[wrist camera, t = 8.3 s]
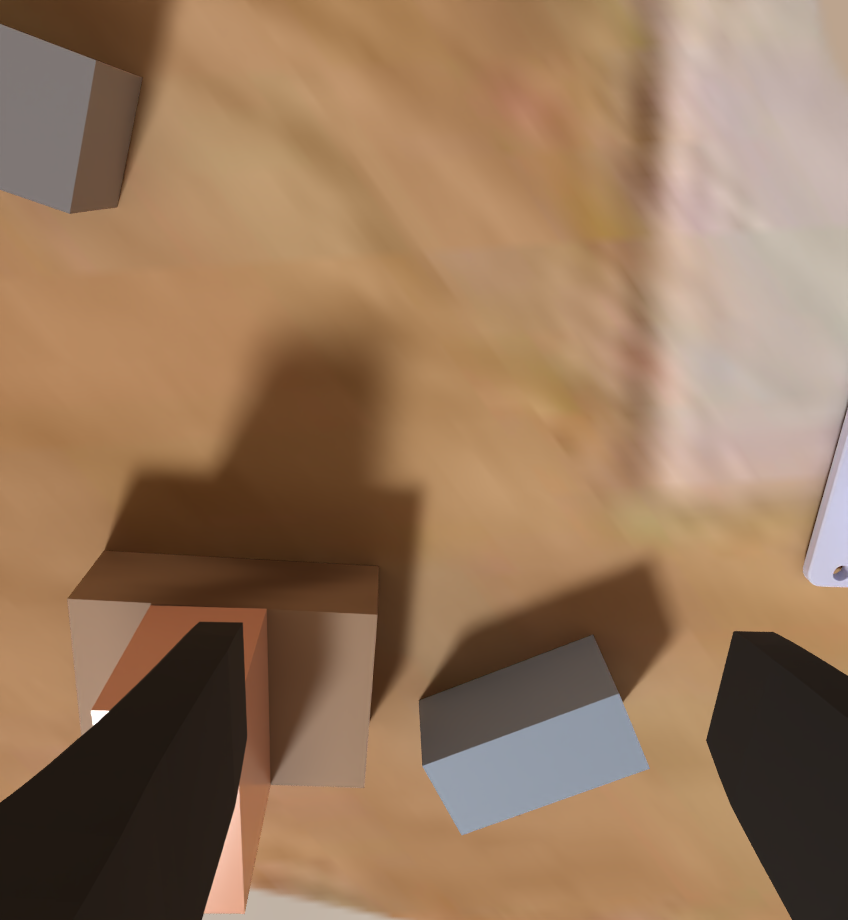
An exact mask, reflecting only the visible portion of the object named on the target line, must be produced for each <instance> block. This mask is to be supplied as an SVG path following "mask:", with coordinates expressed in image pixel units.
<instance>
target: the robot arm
mask: <svg viewBox="0 0 848 920" xmlns="http://www.w3.org/2000/svg"><path fill="white" fill-rule="evenodd" d="M839 566H843V567H842V569H841V570H840V571H839V572H838V573H836V574H833V572H834V571H835V569H836V568H838V567H839ZM803 573H804V576H805V577H806V578H807V579H808V580H809V581H810V582H811V583H812V584H814V585H816V586H822V587H848V409H847V413H846V416H845V420H844V423H843V427H842V430H841V434H840V438H839V441H838V445H837V448H836V452H835V455H834V459H833V462H832V466H831V470H830V473H829V477H828V480H827V484H826V487H825V491H824V495H823V498H822V502H821V505H820V509H819V512H818V516H817V519H816V523H815V527H814V530H813V534H812V537H811V541H810V544H809V548H808V551H807V555H806V559H805V562H804V566H803ZM706 741H707V744H708V747H709V749H710V752H711V755H712V758H713V760H714V763H715V766H716V769H717V771H718V774H719V777H720V779H721V782H722V784H723V787H724V789H725V792H726V794H727V797H728V799H729V802H730V804H731V807H732V808H733V810H734V812H735V814H736V816H737V818H738V820H739V822H740V824H741V826H742V828H743V830H744V831H745V833H746V835H747V837H748V839H749V841H750V843H751V845H752V847H753V848H754V850H755V852H756V854H757V856H758V858H759V860H760V862H761V863H762V865H763V867H764V869H765V871H766V873H767V874H768V876H769V878H770V880H771V882H772V884H773V885H774V887H775V889H776V891H777V893H778V895H779V896H780V898H781V900H782V902H783V904H784V906H785V907H786V909H787V911H788V913H789V915H790V917H791V918H792V920H848V676H847V675H845V674H844V673H842V672H841V671H839V670H838V669H836V668H834V667H833V666H831V665H830V664H828V663H826V662H825V661H823V660H821V659H820V658H818V657H817V656H815V655H813V654H812V653H810V652H808V651H807V650H805V649H803V648H802V647H800V646H798V645H796V644H795V643H793V642H791V641H789V640H788V639H786V638H784V637H782V636H780V635H778V634H776V633H774V632H743V631H734V632H733V636H732V640H731V644H730V648H729V652H728V656H727V660H726V664H725V668H724V672H723V676H722V680H721V684H720V688H719V692H718V696H717V700H716V704H715V708H714V711H713V715H712V719H711V723H710V727H709V731H708V735H707V739H706ZM246 743H247V714H246V688H245V663H244V638H243V622H198V623H197V624H196V625H195V626H194V627H193V628H192V629H191V630H190V631H189V632H188V633H187V634H186V635H185V636H184V637H183V638H182V639H181V640H180V641H179V642H178V643H177V644H176V645H175V646H174V647H173V648H172V649H171V650H170V651H169V652H168V653H167V654H166V655H165V656H164V657H163V658H162V659H161V660H160V662H159V663H158V664H157V665H156V666H155V667H154V668H153V669H152V670H151V671H150V672H149V673H148V674H147V675H146V676H145V677H144V678H143V679H142V680H141V681H140V682H139V683H138V684H137V685H136V686H135V687H133V688H132V689H131V690H130V691H129V692H128V693H127V694H126V695H125V696H124V697H123V698H122V699H121V700H120V701H119V702H118V703H117V704H116V705H115V706H114V707H113V708H112V709H111V710H110V711H108V712H107V713H106V714H105V715H104V716H103V717H102V718H101V719H100V720H99V721H98V722H97V723H96V724H95V725H93V726H92V727H91V728H90V729H89V730H88V731H87V732H85V733H84V734H83V735H82V736H81V737H80V738H79V739H77V740H76V741H75V742H74V743H73V744H72V745H70V746H69V747H68V748H67V749H66V750H65V751H64V752H62V753H61V754H60V755H59V756H58V757H57V758H56V759H54V760H53V761H52V762H51V763H50V764H49V765H47V766H46V767H45V768H44V769H43V770H41V771H40V772H39V773H38V774H36V775H35V776H34V777H33V778H32V779H30V780H29V781H28V782H27V783H25V784H24V785H23V786H22V787H20V788H19V789H18V790H16V791H15V792H14V793H13V794H11V795H10V796H9V797H7V798H6V799H4V800H3V801H2V802H0V920H202V917H203V914H204V911H205V907H206V904H207V901H208V897H209V894H210V890H211V887H212V884H213V880H214V877H215V874H216V870H217V867H218V864H219V860H220V857H221V853H222V850H223V847H224V843H225V840H226V836H227V833H228V830H229V826H230V823H231V819H232V816H233V812H234V809H235V805H236V799H237V794H238V789H239V783H240V778H241V772H242V766H243V760H244V754H245V748H246Z"/></svg>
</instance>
